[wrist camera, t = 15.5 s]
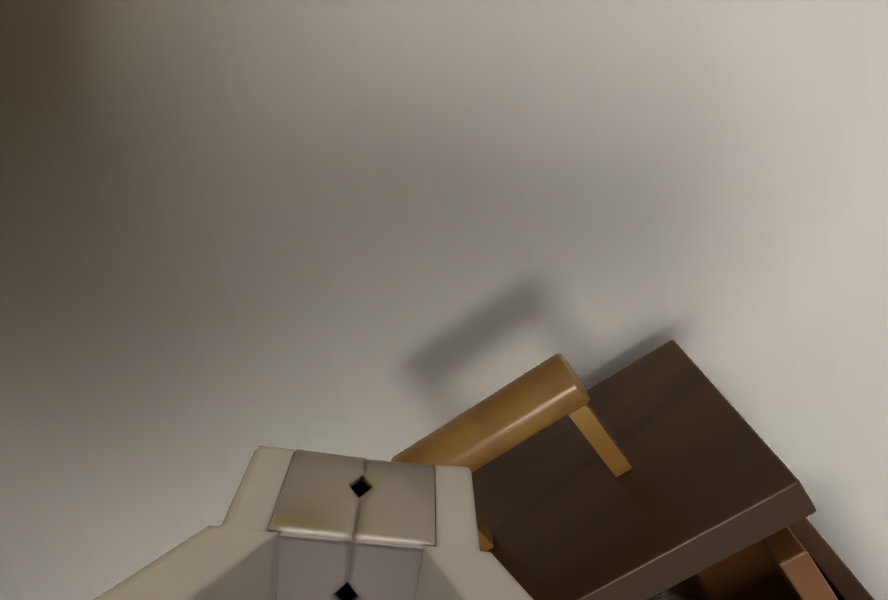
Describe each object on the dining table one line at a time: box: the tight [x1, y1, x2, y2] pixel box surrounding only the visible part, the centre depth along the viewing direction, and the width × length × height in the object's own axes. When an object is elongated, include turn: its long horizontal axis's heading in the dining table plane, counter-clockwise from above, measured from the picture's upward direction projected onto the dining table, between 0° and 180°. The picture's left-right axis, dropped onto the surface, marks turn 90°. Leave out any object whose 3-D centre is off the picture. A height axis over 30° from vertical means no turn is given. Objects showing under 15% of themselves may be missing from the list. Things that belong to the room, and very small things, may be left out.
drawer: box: [391, 340, 838, 600], centre depth 21 cm, size 19×12×8 cm, turn 36°
